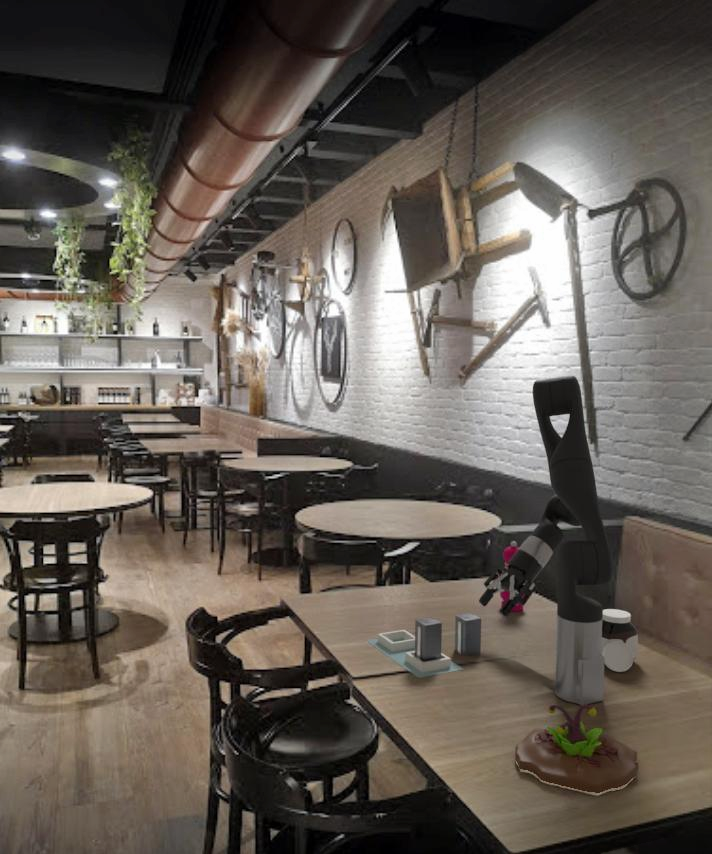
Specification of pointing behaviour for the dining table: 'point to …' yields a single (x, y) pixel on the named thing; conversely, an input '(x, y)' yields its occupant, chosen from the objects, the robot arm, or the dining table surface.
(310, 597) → the dining table surface
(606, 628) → the spread jar
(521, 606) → the pepper mill
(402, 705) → the dining table surface
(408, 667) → the pallet
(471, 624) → the loose billet
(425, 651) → the seated billet
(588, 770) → the plant
